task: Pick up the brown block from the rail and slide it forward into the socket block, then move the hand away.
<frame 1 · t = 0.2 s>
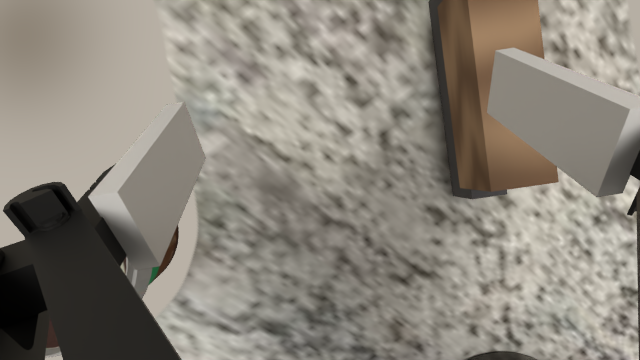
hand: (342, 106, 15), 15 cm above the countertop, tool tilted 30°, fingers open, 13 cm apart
food container: (132, 264, 29), on the countertop
rail: (456, 97, 30), on the countertop
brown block: (477, 94, 26), point 3 cm above the countertop, touching rail
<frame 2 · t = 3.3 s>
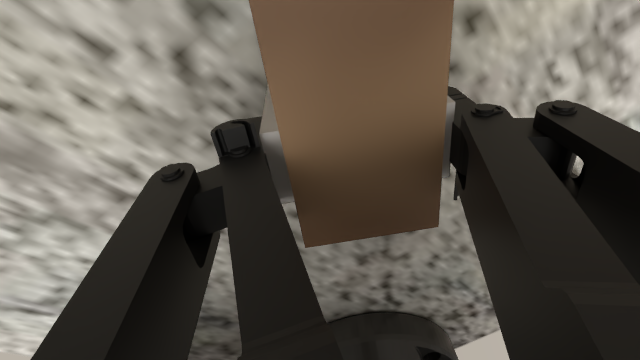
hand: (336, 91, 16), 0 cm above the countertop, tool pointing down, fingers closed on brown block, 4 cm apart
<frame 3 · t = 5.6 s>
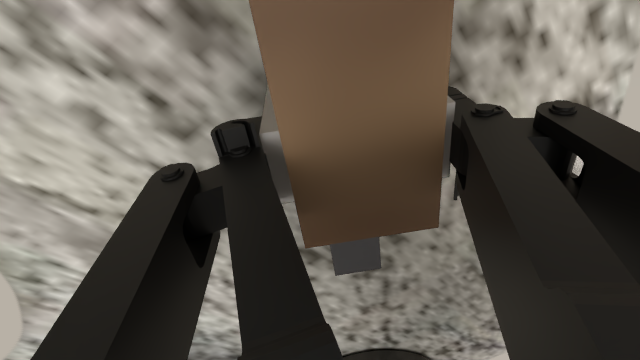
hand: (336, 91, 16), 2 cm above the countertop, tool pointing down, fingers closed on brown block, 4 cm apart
rail: (334, 119, 19), on the countertop
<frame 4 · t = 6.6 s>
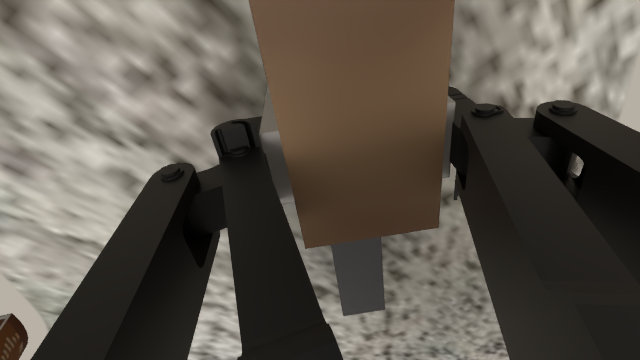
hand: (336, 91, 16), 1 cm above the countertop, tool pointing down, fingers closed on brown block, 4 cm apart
rail: (343, 178, 21), on the countertop
when the fingers open (1 cm above the countertop, at t = 7.8 s): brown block stays where it is, resting on rail, socket block.
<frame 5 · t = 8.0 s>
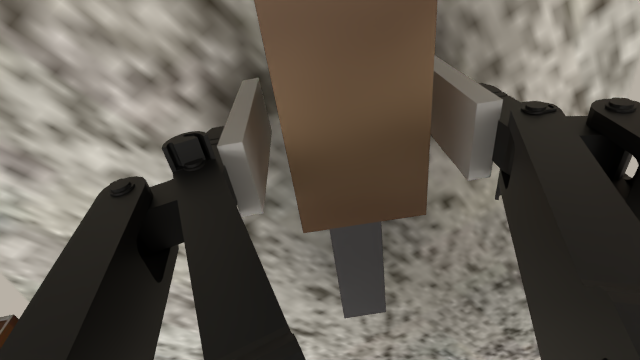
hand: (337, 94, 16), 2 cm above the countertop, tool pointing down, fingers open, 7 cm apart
rail: (345, 181, 21), on the countertop
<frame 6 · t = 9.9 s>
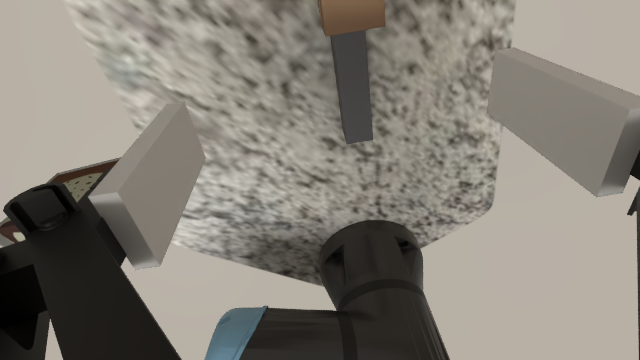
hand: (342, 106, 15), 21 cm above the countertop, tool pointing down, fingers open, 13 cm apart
food container: (110, 183, 41), on the countertop
rail: (346, 51, 34), on the countertop
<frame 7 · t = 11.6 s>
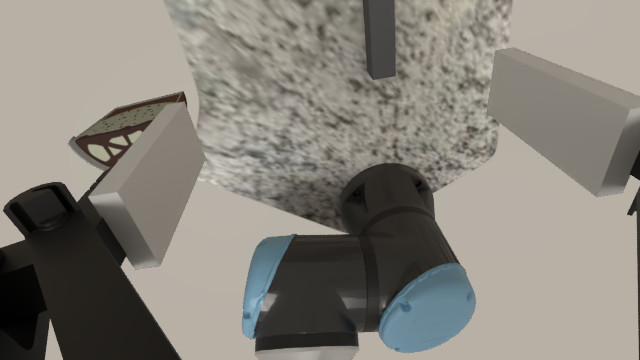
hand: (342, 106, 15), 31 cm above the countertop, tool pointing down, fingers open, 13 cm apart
food container: (160, 120, 46), on the countertop
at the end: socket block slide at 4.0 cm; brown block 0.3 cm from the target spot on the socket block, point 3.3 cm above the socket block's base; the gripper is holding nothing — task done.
